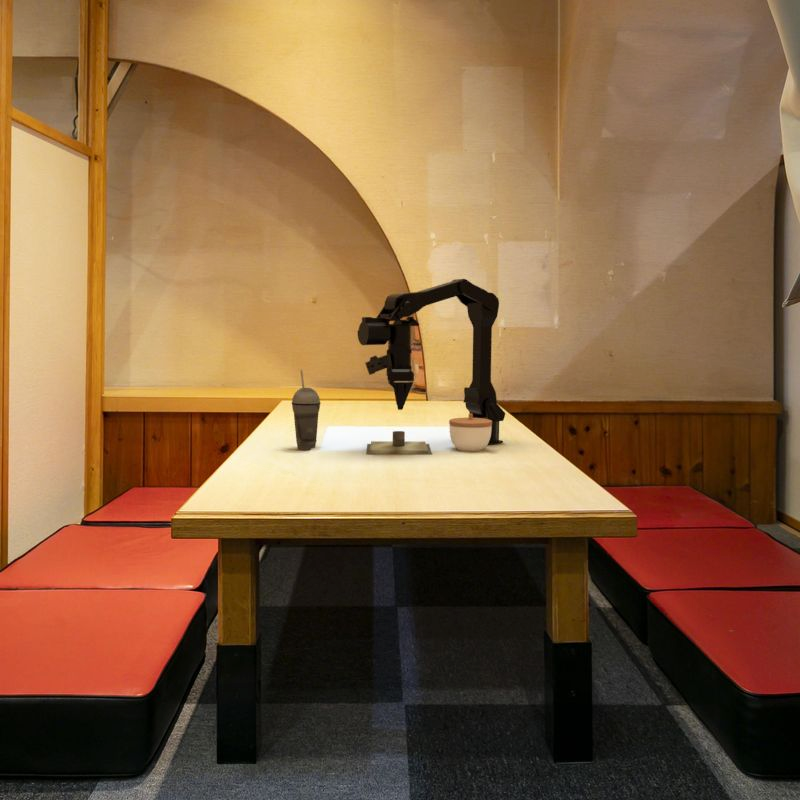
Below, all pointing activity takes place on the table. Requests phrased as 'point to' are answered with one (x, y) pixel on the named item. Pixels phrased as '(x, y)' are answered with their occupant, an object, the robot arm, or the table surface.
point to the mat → (397, 454)
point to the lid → (398, 445)
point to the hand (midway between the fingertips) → (399, 407)
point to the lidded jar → (470, 433)
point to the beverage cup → (306, 416)
